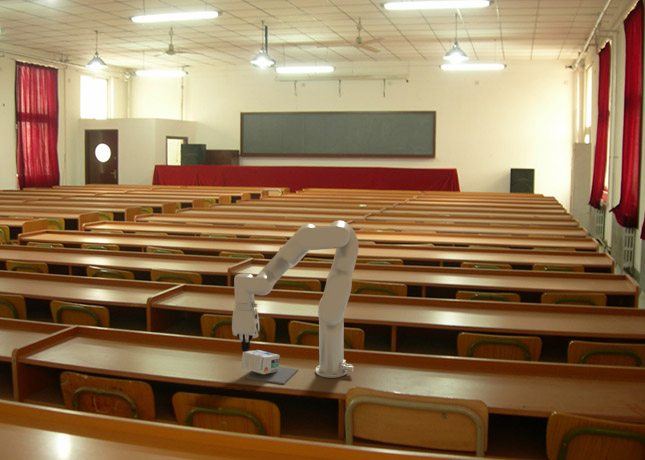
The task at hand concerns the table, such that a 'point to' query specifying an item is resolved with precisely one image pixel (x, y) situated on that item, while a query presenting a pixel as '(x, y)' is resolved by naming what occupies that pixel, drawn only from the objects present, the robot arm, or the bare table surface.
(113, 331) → the table surface
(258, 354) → the light bulb box
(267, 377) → the mat
